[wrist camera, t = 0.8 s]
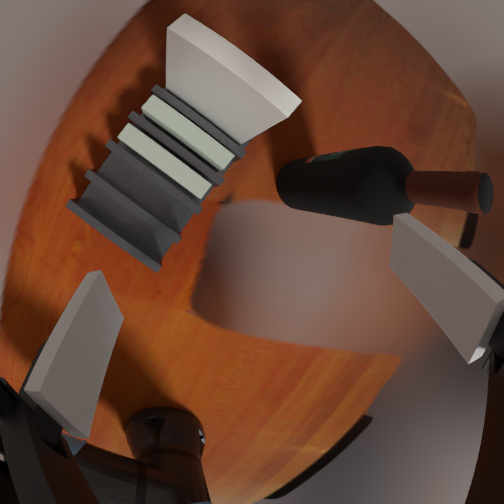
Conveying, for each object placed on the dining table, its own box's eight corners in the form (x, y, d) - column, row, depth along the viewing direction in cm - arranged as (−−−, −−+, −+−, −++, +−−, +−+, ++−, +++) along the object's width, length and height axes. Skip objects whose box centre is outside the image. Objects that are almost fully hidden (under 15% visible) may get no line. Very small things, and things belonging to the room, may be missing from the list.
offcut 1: (215, 172, 37) (223, 169, 31) (145, 119, 33) (141, 107, 27) (224, 160, 37) (234, 155, 31) (155, 108, 33) (153, 94, 27)
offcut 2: (196, 197, 37) (200, 199, 31) (125, 145, 33) (117, 137, 27) (205, 185, 37) (211, 184, 31) (134, 133, 33) (128, 122, 27)
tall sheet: (234, 148, 37) (288, 117, 20) (166, 96, 33) (167, 27, 16) (243, 137, 37) (302, 100, 20) (175, 85, 33) (184, 13, 16)
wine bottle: (266, 186, 41) (446, 192, 12) (297, 149, 41) (479, 115, 12) (301, 219, 43) (480, 271, 15) (330, 183, 43) (510, 194, 15)
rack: (156, 263, 38) (154, 276, 33) (78, 206, 34) (63, 209, 28) (255, 133, 38) (269, 124, 33) (180, 75, 34) (182, 58, 28)
